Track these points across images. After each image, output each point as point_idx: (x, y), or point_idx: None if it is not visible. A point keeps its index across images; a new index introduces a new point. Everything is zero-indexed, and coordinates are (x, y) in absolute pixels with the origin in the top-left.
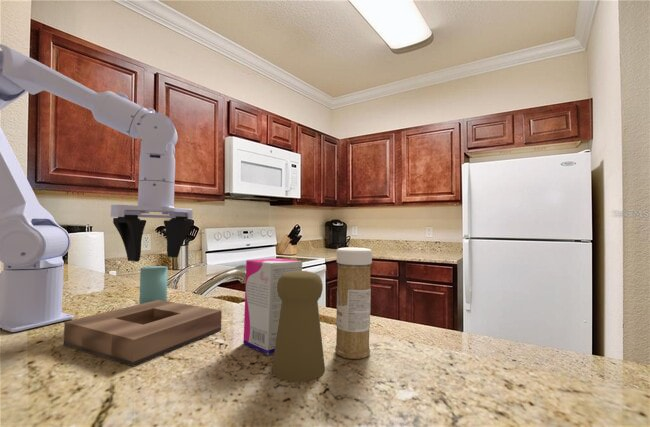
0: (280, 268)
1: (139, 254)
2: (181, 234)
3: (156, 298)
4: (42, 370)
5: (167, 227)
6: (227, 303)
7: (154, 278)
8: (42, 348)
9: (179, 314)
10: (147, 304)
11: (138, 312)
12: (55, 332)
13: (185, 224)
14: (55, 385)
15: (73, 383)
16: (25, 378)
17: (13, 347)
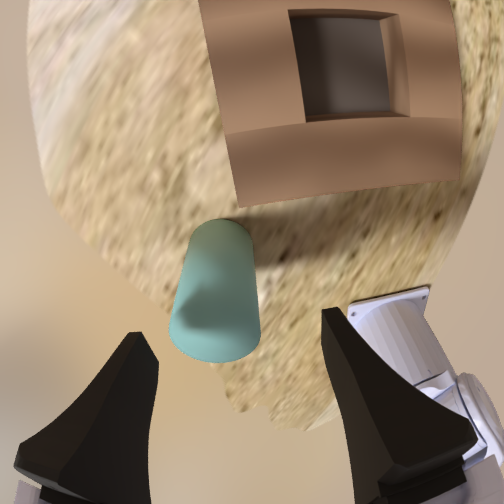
0: None
1: (335, 323)
2: (89, 412)
3: (226, 242)
4: (481, 87)
5: (141, 481)
6: (50, 185)
7: (233, 281)
8: None
9: (297, 4)
10: (291, 179)
11: (351, 119)
12: (404, 247)
13: (55, 453)
14: (484, 29)
15: (473, 14)
16: (494, 82)
17: (459, 218)
